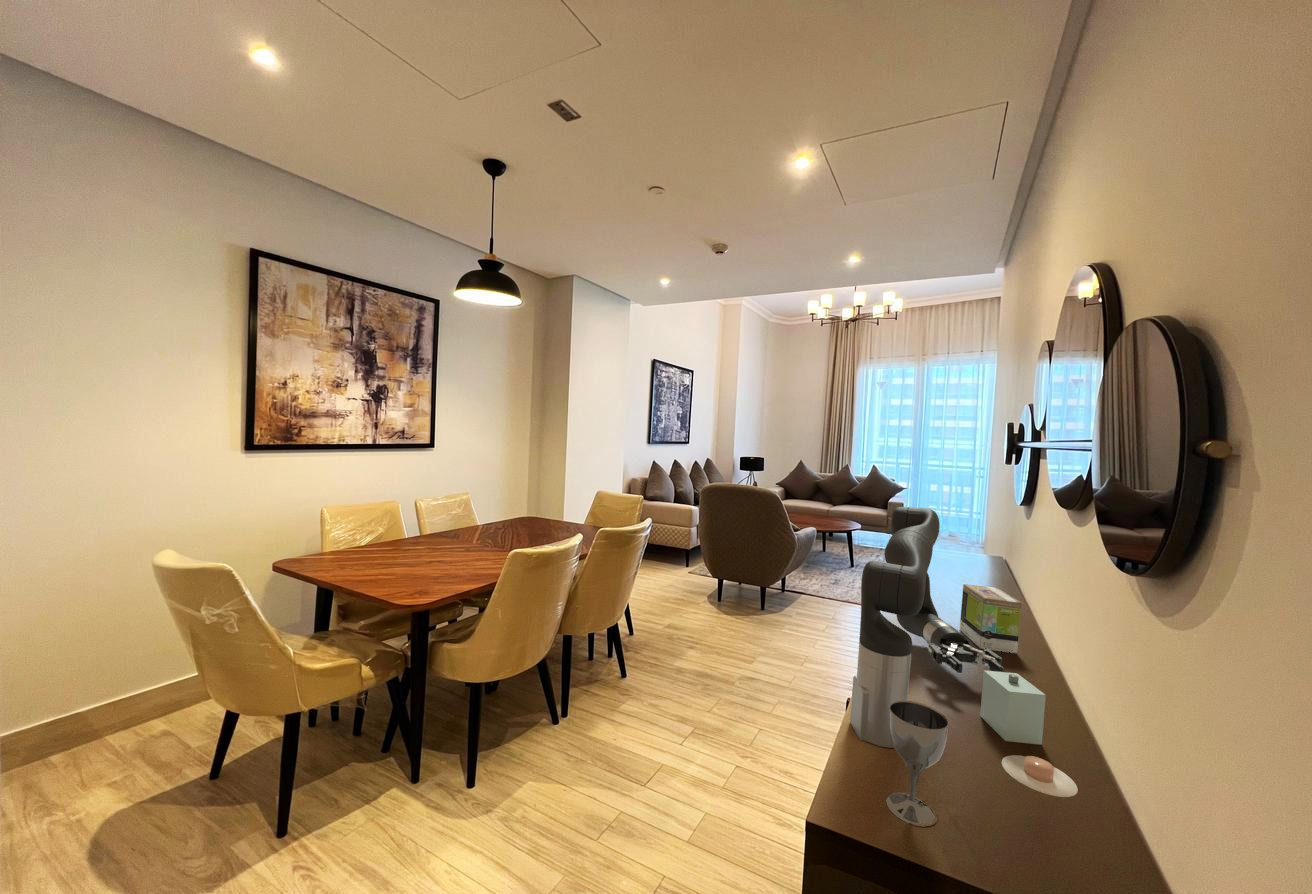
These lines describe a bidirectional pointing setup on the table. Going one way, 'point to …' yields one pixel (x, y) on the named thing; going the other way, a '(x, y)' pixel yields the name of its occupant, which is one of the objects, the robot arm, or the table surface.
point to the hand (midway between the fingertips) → (980, 670)
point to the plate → (1058, 787)
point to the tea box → (990, 618)
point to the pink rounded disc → (1039, 769)
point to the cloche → (1013, 707)
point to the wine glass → (915, 753)
